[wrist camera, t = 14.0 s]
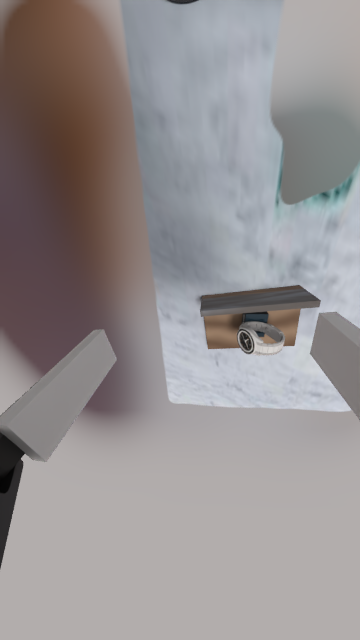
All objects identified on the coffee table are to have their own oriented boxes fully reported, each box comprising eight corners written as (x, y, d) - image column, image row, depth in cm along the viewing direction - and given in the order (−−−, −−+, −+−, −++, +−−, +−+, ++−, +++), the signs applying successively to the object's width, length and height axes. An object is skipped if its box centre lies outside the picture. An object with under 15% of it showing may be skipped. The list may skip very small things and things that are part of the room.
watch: (234, 307, 38) (241, 335, 28) (273, 307, 36) (295, 337, 27) (232, 328, 40) (238, 361, 31) (268, 329, 39) (286, 364, 30)
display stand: (202, 295, 40) (200, 311, 33) (299, 285, 35) (320, 300, 28) (208, 344, 46) (207, 365, 39) (290, 340, 42) (306, 363, 35)
